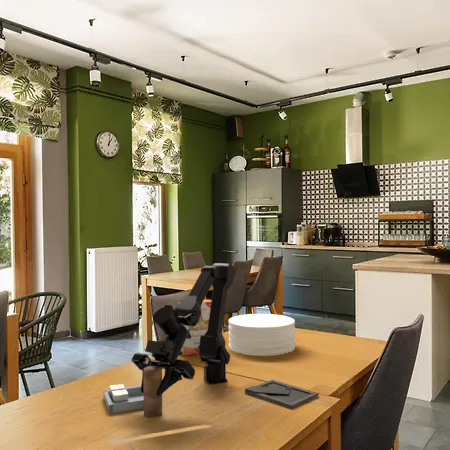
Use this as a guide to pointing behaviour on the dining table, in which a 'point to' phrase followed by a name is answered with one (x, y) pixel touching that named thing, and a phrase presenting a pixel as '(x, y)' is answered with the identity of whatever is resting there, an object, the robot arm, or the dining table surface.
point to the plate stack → (261, 334)
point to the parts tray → (133, 401)
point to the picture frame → (281, 393)
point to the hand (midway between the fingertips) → (149, 393)
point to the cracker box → (197, 330)
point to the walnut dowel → (152, 391)
